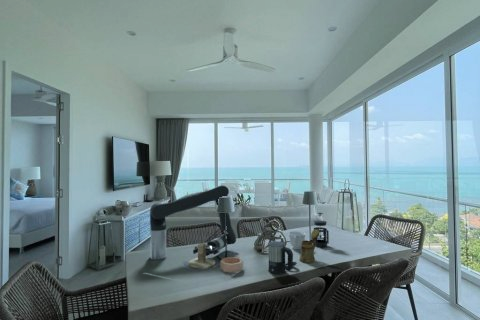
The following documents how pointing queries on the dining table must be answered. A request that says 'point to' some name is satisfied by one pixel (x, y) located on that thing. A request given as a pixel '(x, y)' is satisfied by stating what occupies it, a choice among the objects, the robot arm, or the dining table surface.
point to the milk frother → (279, 258)
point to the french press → (318, 240)
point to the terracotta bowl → (231, 264)
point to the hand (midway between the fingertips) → (199, 253)
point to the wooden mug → (309, 248)
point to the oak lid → (201, 259)
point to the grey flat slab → (200, 269)
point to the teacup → (296, 239)
